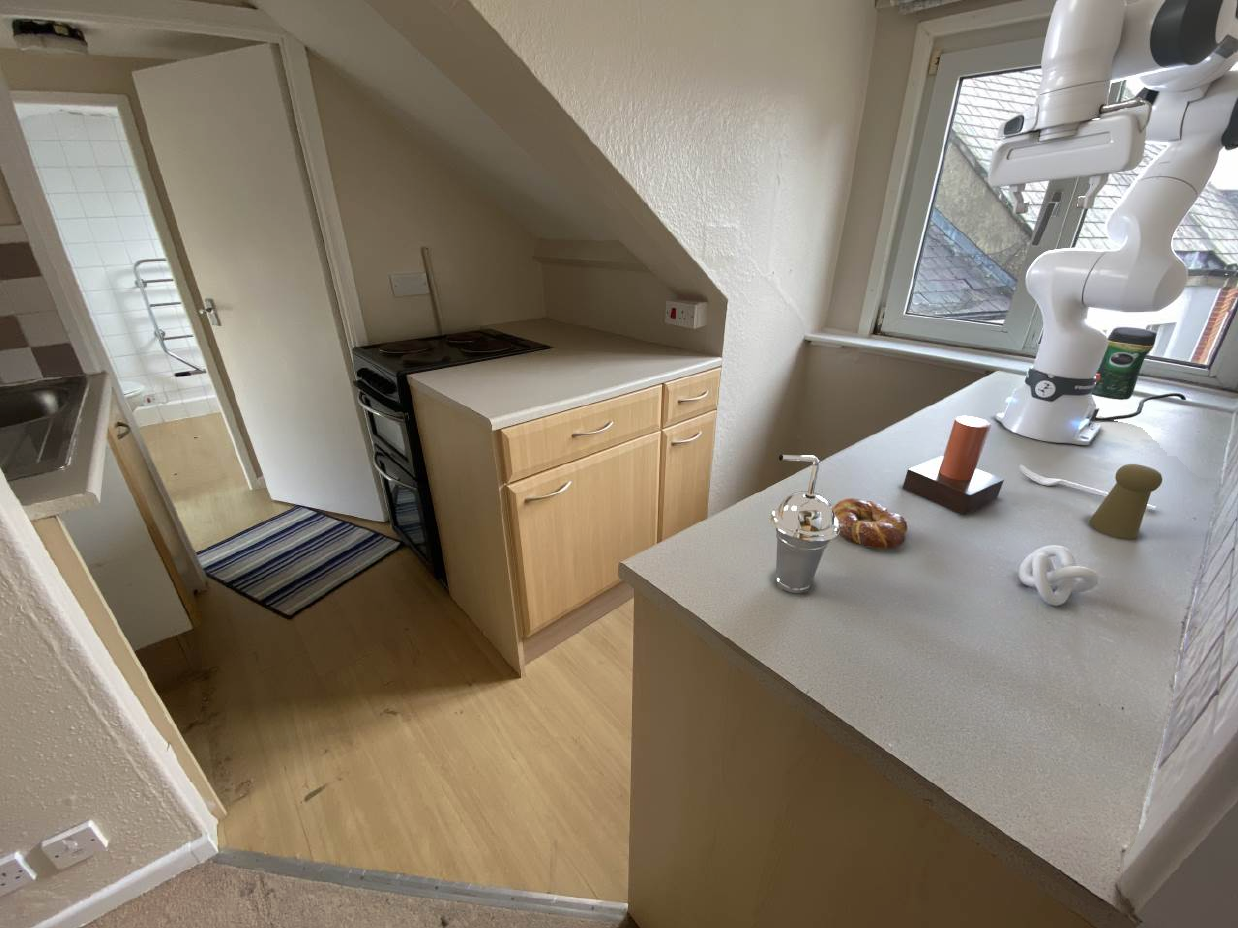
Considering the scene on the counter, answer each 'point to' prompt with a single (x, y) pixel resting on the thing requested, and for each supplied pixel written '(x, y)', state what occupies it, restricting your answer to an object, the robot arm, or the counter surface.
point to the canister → (964, 448)
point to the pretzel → (869, 524)
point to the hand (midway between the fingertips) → (1050, 211)
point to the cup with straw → (802, 532)
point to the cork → (1126, 501)
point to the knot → (1055, 574)
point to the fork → (1053, 481)
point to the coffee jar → (1123, 362)
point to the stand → (952, 487)
